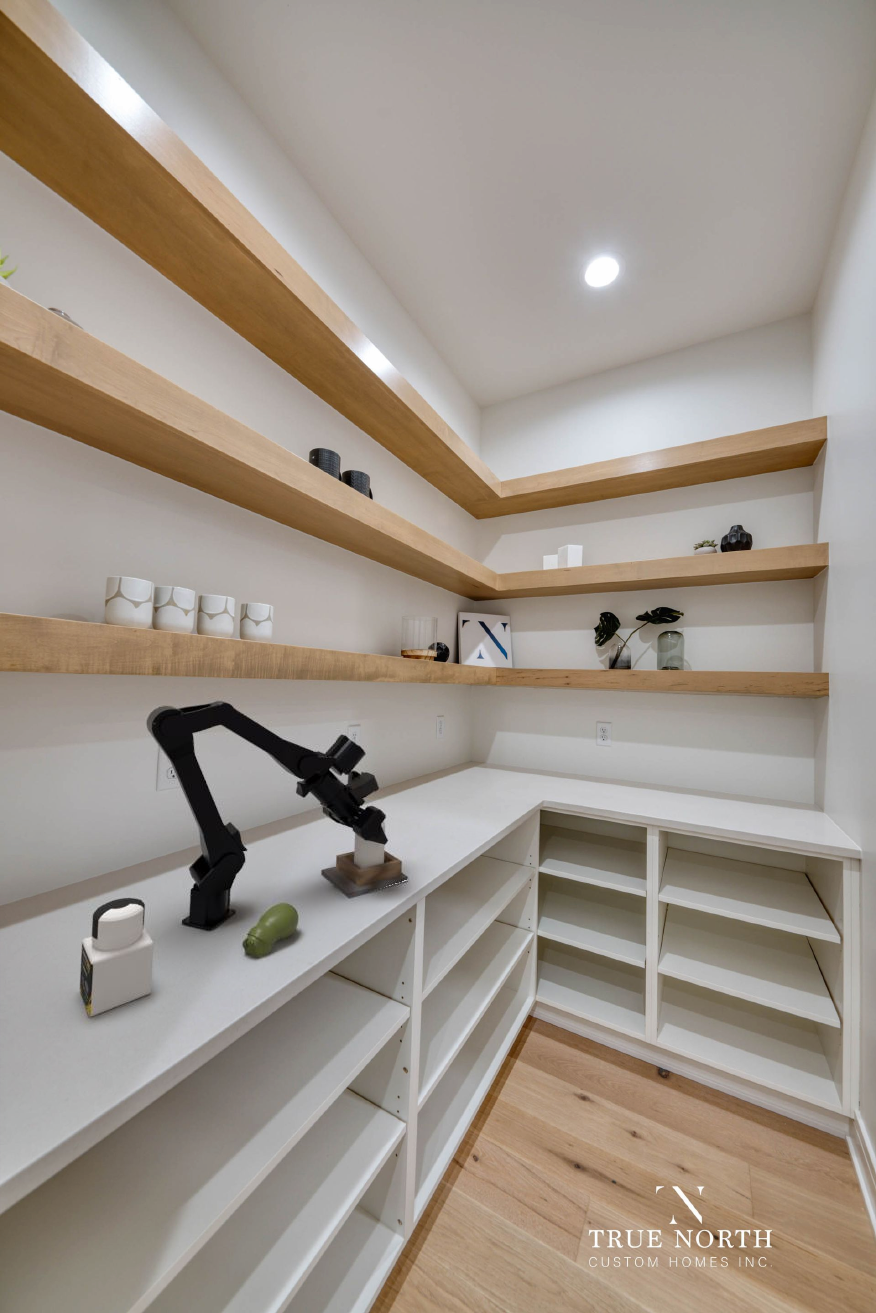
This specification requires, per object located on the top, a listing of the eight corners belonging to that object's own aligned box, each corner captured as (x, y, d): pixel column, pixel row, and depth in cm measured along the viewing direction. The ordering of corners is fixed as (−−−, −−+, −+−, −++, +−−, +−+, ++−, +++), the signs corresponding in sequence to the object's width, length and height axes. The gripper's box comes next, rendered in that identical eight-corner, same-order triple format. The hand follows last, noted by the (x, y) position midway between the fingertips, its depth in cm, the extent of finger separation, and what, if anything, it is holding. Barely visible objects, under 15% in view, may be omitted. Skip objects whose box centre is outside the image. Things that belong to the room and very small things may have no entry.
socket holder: (349, 898, 97) (349, 877, 97) (321, 874, 107) (322, 855, 107) (407, 881, 105) (408, 862, 105) (376, 860, 115) (377, 843, 115)
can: (374, 881, 102) (376, 823, 102) (347, 875, 104) (350, 819, 105) (388, 870, 108) (390, 815, 108) (362, 864, 110) (365, 811, 111)
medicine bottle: (79, 990, 67) (83, 902, 68) (138, 969, 72) (142, 887, 72) (88, 1018, 62) (93, 923, 62) (151, 993, 67) (156, 906, 67)
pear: (304, 901, 83) (259, 939, 74) (306, 930, 84) (261, 971, 75) (279, 893, 86) (233, 929, 77) (281, 921, 86) (236, 959, 78)
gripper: (379, 770, 97) (422, 817, 104) (337, 754, 112) (377, 796, 119) (341, 816, 92) (388, 862, 99) (302, 793, 107) (346, 835, 114)
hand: (375, 836), depth 108 cm, fingers open, 9 cm apart
